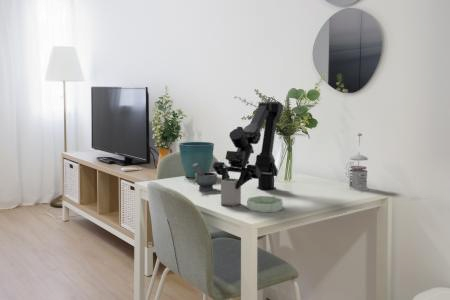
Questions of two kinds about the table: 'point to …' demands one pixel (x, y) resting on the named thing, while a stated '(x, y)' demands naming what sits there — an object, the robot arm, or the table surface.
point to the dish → (264, 203)
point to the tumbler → (230, 192)
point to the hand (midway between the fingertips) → (229, 187)
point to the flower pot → (196, 156)
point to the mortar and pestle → (204, 178)
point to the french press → (357, 173)
